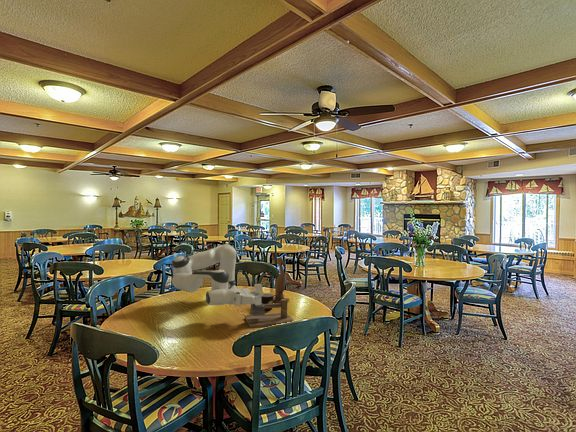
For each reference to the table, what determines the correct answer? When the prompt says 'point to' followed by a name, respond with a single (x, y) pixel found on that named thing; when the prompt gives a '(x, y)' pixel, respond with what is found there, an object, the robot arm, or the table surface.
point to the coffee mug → (267, 299)
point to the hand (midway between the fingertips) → (259, 294)
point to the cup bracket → (268, 315)
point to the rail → (257, 292)
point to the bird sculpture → (280, 283)
